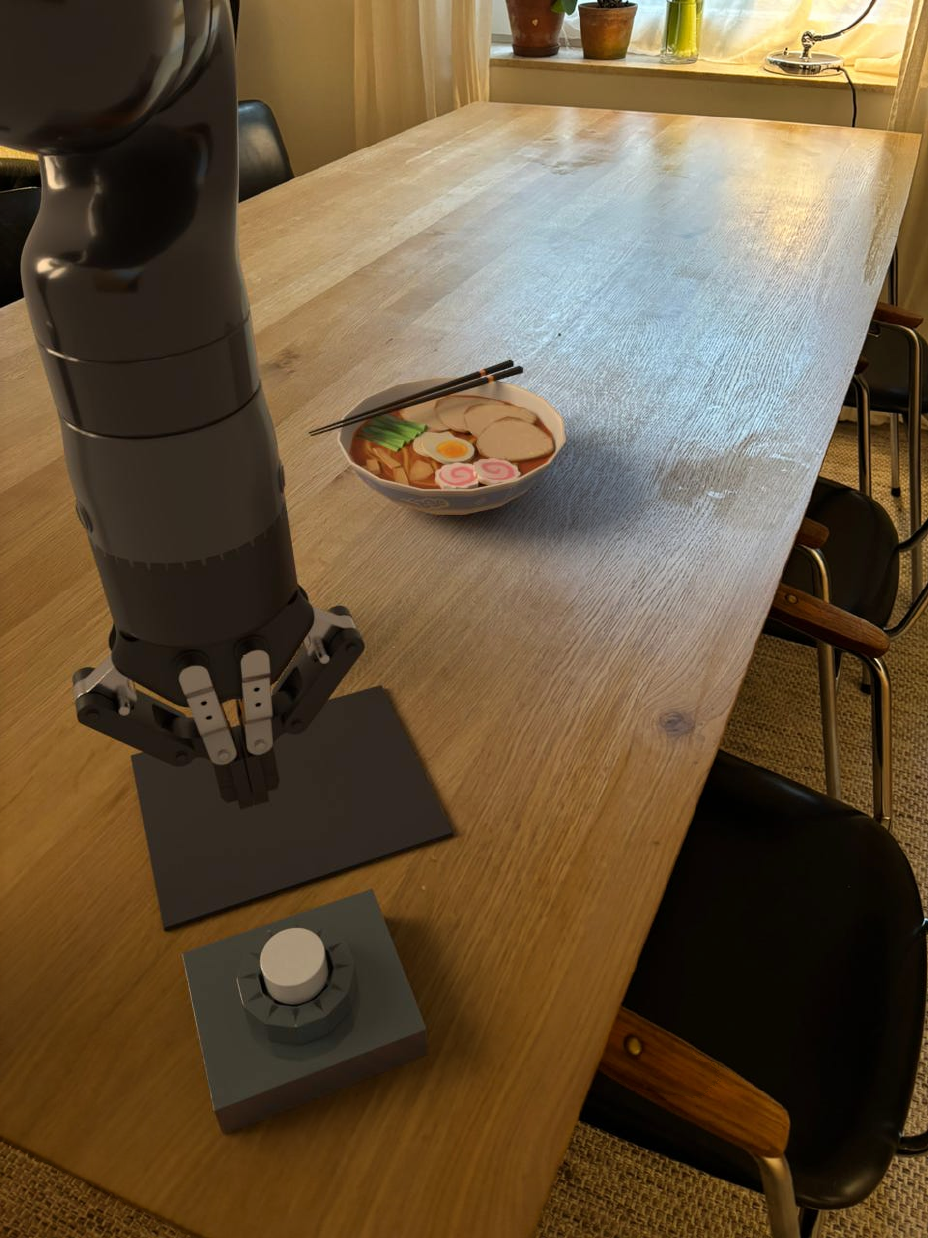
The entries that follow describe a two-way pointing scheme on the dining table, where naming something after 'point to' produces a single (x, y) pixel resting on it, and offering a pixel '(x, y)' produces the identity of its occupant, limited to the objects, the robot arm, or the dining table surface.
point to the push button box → (302, 1014)
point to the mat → (288, 812)
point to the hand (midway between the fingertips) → (250, 793)
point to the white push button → (294, 966)
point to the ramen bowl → (452, 441)
